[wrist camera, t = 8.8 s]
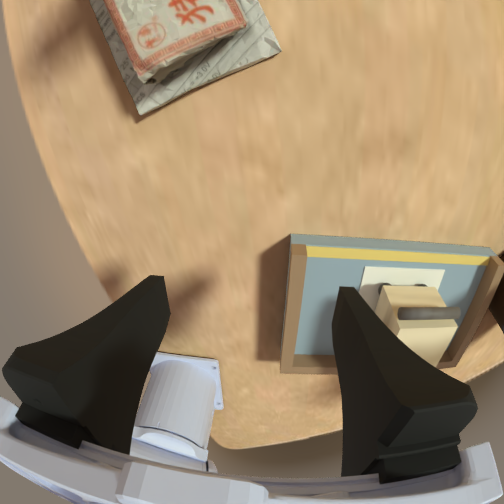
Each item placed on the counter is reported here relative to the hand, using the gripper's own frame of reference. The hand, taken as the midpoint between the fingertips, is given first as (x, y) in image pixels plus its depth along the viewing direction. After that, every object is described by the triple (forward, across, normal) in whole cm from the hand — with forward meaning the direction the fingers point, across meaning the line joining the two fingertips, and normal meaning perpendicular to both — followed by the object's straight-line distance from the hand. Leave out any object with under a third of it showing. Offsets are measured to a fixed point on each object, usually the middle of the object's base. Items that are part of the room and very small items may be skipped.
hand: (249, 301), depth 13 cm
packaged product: (+11, +7, -17) cm, 21 cm away
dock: (+10, -11, +8) cm, 17 cm away
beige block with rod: (+9, -11, +8) cm, 16 cm away
